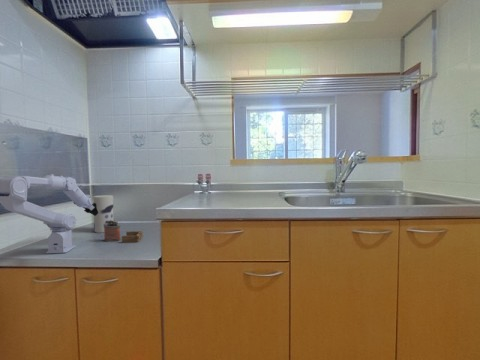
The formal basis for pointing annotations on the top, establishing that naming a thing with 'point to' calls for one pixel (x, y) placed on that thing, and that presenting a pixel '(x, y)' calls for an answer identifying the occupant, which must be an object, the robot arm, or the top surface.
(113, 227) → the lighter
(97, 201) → the container
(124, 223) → the top surface
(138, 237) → the lighter dock
